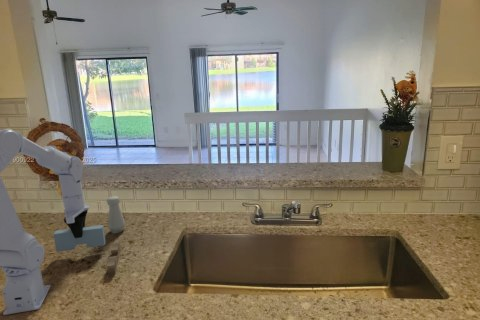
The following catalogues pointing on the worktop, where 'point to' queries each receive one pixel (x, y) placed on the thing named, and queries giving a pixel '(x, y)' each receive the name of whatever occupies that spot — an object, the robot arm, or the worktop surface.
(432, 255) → the worktop surface
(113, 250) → the walnut slotted board
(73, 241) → the slate-blue slotted board
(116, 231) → the salt shaker
